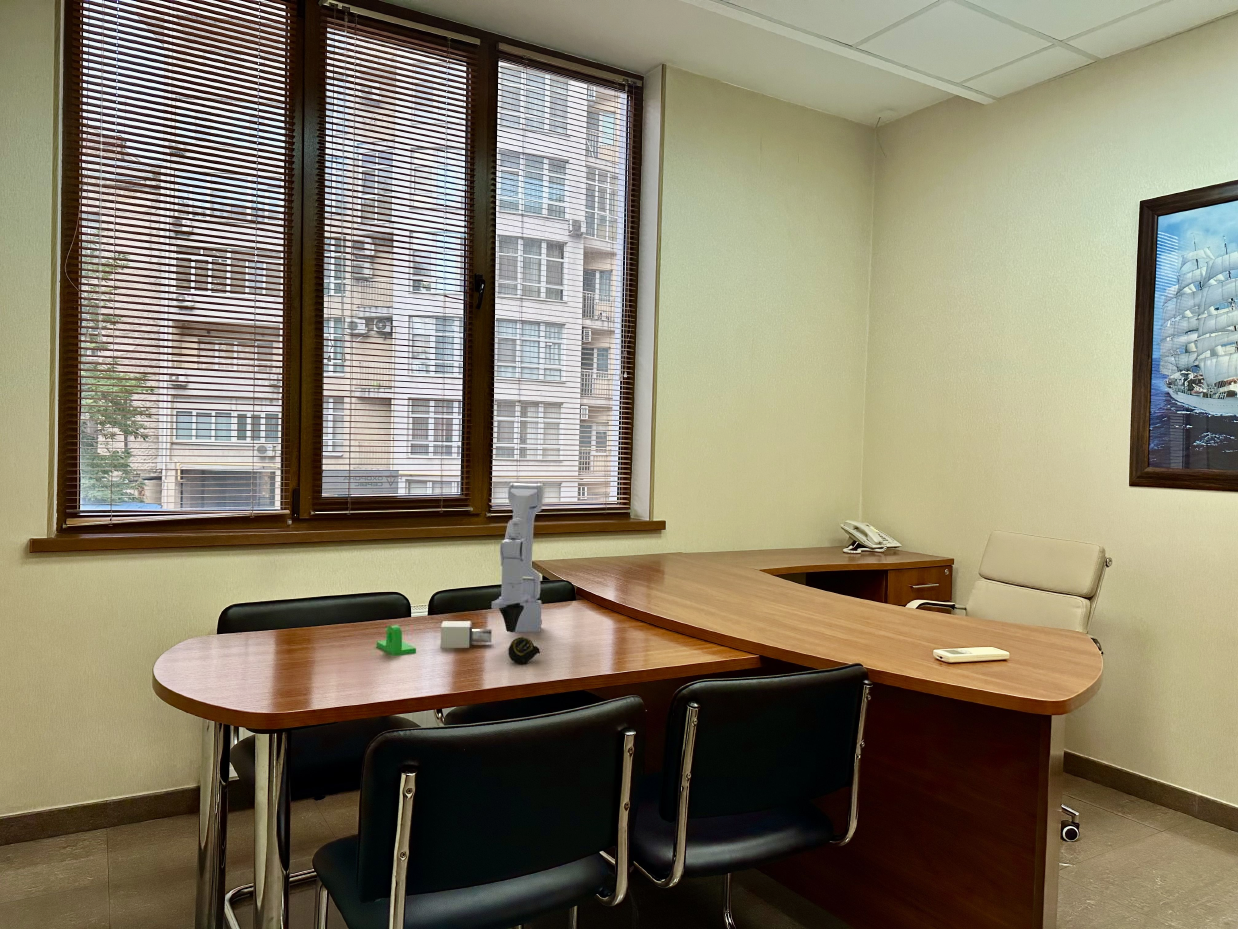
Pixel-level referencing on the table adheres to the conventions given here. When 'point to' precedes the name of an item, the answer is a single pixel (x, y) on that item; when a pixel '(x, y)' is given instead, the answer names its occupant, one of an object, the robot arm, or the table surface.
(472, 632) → the steel pin
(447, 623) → the white block
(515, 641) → the tape measure
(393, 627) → the mechanical part
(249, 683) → the table surface
